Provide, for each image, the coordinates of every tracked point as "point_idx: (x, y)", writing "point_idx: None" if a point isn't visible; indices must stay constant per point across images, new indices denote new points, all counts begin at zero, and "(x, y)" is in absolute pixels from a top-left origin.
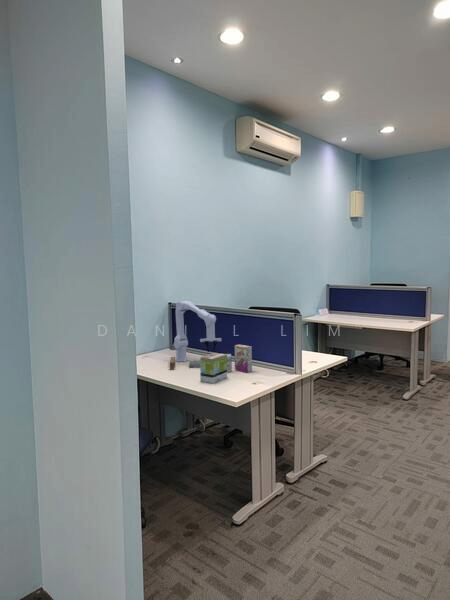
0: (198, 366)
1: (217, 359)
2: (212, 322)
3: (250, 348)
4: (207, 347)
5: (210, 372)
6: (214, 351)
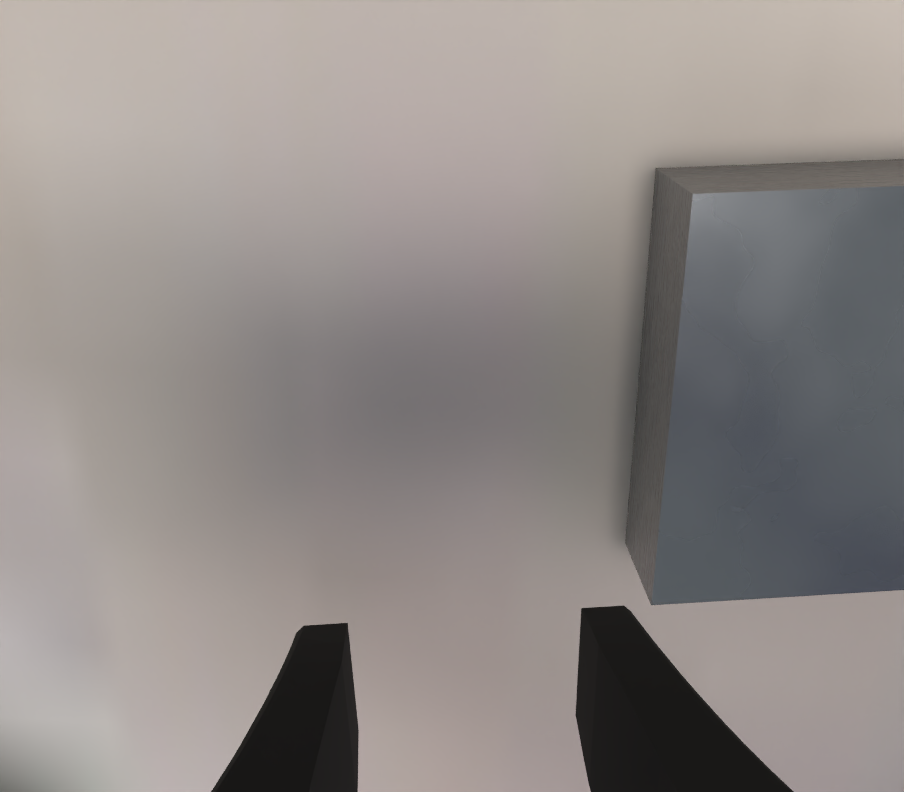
0: (850, 169)
1: None
2: None
3: None
4: (745, 788)
5: None
6: (291, 647)
